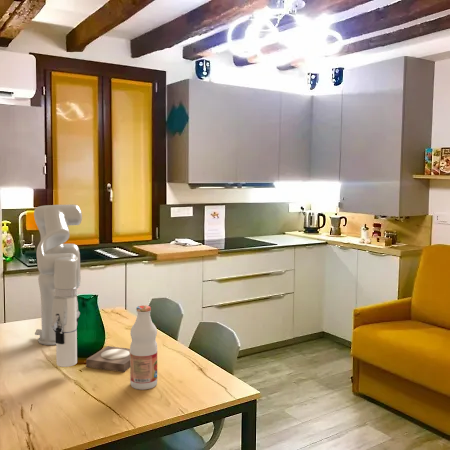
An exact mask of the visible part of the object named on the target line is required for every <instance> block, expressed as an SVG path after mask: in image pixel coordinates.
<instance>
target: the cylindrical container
mask: <svg viewBox="0 0 450 450" xmlns="http://www.w3.org/2000/svg"><path fill="white" fill-rule="evenodd" d="M77 323H78V322H77V319H76V297H73V298H68V299H67V323H66V325H65V326H64V330H63V333H64V344H57V343H56V347H55V348H56V350H55V351H56V353H55V354H56V358H55V359H56V365H57V366H58V367H59V368H61V367H62V368H68V367H73V366H75V365H76V364H77V363H78V339H77V338H78V329H77V328H78V325H77ZM58 324H61V322H60V320H59V322H58ZM58 327H59V328H60V329H61V326H58Z"/></svg>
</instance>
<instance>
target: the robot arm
mask: <svg viewBox="0 0 450 450" xmlns="http://www.w3.org/2000/svg"><path fill="white" fill-rule="evenodd" d="M33 211H34V212H33V217H34V221H35V224H36V226H37V229H38V231H39V234H40V241H39V243H38V245H37V248H36V262H37V270H38V272H39V274H38V277H37V278H38V287H39V292H40V294H39V295H40V312H41V315H40V316H41V320H40V321H41V329H40V328H37V329H36V331H35V332H34V335H35V336H39V338H38V339H37V341H38V343H39V344H41V345H45V346H53V345H54V346H55V345H56V343H57V344H64V333H63V330H64V326H65V325H66V323H67V299H68V298H73V297H76V319H77V326H78V322H79V317H80V315H81V312H80V311H79V302H78V295H77V294H78V293H77V292H78V291H77V290H78V289H79V288H80V286H81V282H82V281H81V253H80V248H79V246H78V245H77V244H75V243H66V242H67V241H68V240H69V239H70V235H71V234H70V229H69V226H79V225H80V224H81V223H82V220H83V214H82V213H83V212H82V210H81V208H80V206H79V205H77V204H52V205H51V204H50V205H49V204H48V205H46V204H45V205H40V206H37V207H36V208H34V210H33ZM59 320H60V322H61V324H58V322H59ZM58 326H61V329H60V328H59V327H58Z"/></svg>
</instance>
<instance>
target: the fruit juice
mask: <svg viewBox="0 0 450 450" xmlns="http://www.w3.org/2000/svg"><path fill="white" fill-rule="evenodd" d="M135 310H136V313H137V315H136V317H135V318H136V319H135V322H134V324H132V326H131V327H130V339H131V341H130V342H131V343H130V346H129V349H130V368H129V371H130V372H129V377H130V379H129V380H130V381H129V382H130V387H131V388H133V389H135V390H141V391H142V390H150V389H153V388H155V387H156V386H157V385H158V342H157V341H156V338H157V334H158V331H157V330H158V329H157V327H156V325H155V323H154V322H153V321H152V317H151V312H152V309H151V306H149V305H147V304H146V305H138V306H137V307H136V309H135Z"/></svg>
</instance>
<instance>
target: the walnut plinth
mask: <svg viewBox="0 0 450 450" xmlns="http://www.w3.org/2000/svg"><path fill="white" fill-rule="evenodd" d="M85 362H86V364H85V365H86V368H93V369H99V370H105V371H106V370H107V371H113V372H120V373H125V372H126V371H128V370H130V348H126V347H118V346H109V345H107V346H105V347H104V348H101V349H100V350H99V351H97V352H96V353H94V354H93V355H90V356H89V357H87V358H86V359H85Z"/></svg>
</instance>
